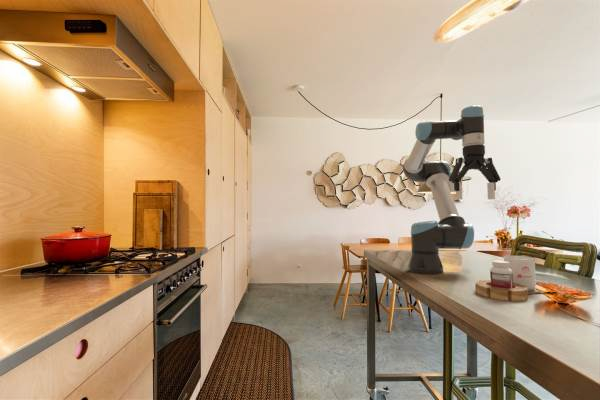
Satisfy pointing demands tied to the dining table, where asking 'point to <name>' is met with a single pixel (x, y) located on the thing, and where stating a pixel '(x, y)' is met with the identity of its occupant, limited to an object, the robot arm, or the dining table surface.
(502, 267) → the pill bottle
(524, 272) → the mug
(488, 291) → the wooden ring
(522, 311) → the dining table surface
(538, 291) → the lace
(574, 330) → the dining table surface
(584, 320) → the dining table surface
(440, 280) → the dining table surface
